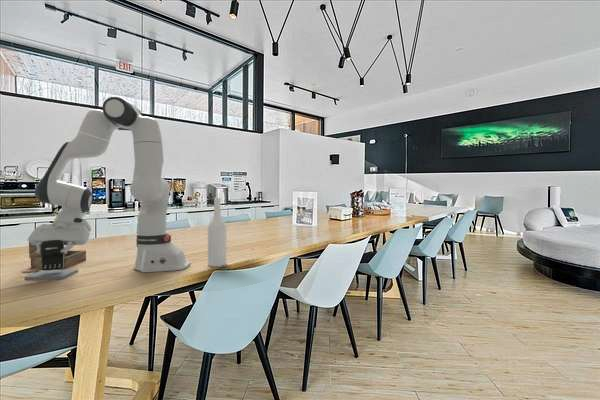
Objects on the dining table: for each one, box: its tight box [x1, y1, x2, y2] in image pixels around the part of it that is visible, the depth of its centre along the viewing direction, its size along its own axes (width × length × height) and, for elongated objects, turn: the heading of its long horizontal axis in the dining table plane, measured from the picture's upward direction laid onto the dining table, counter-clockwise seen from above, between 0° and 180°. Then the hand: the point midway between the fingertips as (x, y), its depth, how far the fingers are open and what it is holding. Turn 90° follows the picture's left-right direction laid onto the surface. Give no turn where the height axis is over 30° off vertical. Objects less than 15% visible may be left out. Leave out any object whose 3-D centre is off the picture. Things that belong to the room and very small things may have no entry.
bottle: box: [207, 197, 227, 267], centre depth 139 cm, size 8×8×30 cm
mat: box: [24, 269, 79, 281], centre depth 120 cm, size 13×10×1 cm
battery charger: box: [41, 239, 65, 270], centre depth 119 cm, size 7×4×11 cm, turn 119°
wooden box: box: [21, 241, 87, 273], centre depth 134 cm, size 14×20×12 cm
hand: (51, 253), depth 119 cm, fingers closed on battery charger, 7 cm apart
